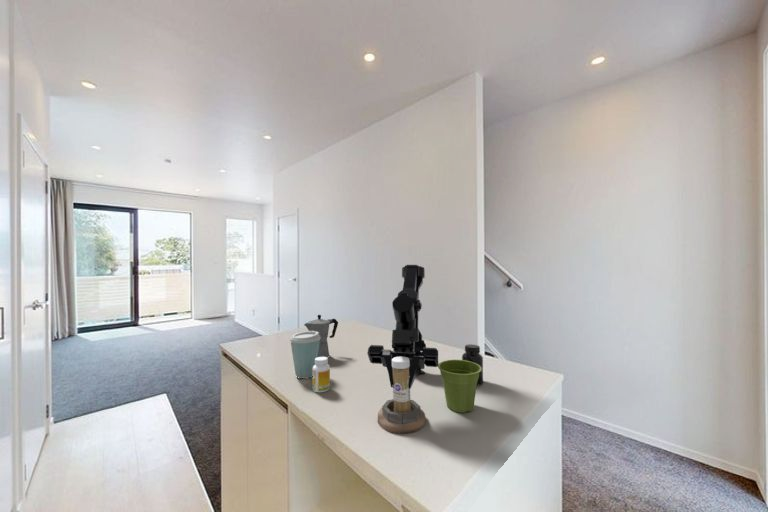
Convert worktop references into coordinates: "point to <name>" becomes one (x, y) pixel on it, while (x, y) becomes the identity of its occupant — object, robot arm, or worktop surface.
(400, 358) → the sprinkles bottle
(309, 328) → the coffeepot
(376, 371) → the worktop surface
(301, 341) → the disposable coffee cup
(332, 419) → the worktop surface
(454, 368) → the plant pot
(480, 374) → the supplement bottle
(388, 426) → the brown grey round base
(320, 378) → the supplement bottle
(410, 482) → the worktop surface
